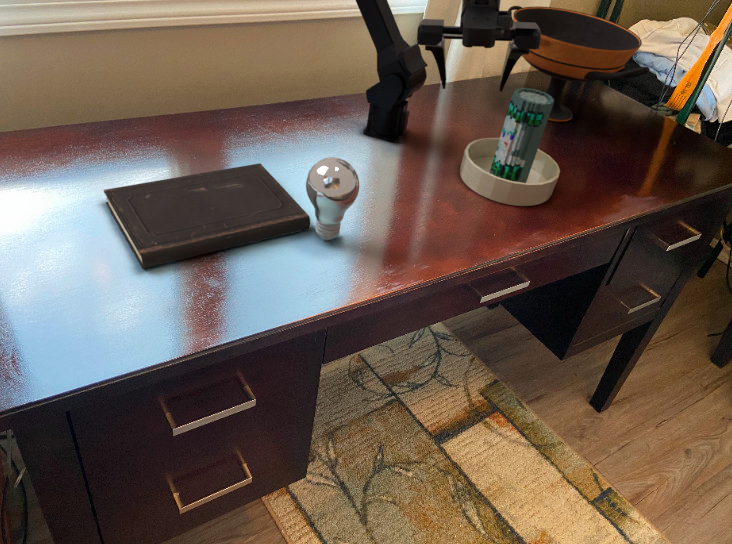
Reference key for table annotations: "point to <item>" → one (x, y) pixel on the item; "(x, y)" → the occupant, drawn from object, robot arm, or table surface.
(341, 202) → the light bulb
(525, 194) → the pan
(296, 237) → the table surface
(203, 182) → the hardcover book
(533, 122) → the can
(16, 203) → the table surface
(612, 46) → the footed terracotta bowl
